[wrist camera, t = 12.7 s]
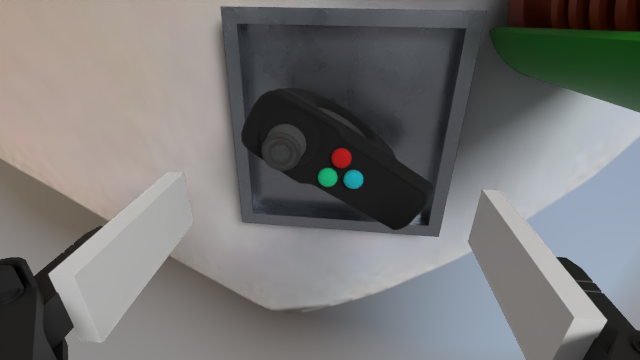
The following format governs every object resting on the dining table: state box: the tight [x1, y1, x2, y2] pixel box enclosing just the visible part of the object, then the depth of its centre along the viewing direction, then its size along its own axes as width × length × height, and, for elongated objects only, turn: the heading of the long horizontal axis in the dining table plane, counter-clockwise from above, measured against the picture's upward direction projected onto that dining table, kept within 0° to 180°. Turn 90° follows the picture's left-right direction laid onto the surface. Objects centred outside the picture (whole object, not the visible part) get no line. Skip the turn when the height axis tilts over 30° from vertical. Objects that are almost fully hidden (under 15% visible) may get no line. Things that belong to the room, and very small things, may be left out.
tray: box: [221, 7, 487, 237], centre depth 26 cm, size 17×17×2 cm
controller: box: [241, 88, 433, 230], centre depth 22 cm, size 4×12×10 cm, turn 59°
